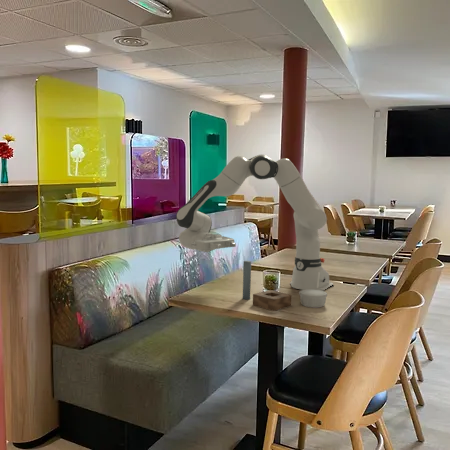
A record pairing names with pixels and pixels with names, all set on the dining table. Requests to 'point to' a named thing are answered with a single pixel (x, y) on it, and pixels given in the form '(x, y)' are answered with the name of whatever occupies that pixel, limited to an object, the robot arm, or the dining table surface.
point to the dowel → (246, 280)
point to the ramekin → (313, 298)
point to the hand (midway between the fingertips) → (227, 245)
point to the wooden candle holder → (272, 300)
